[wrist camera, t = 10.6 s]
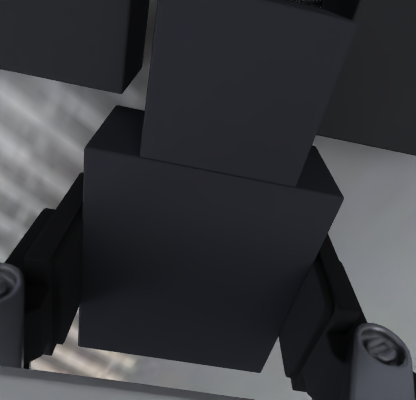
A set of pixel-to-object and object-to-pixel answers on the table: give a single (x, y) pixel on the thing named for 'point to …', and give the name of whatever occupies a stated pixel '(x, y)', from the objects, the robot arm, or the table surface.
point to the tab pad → (212, 184)
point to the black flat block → (134, 48)
